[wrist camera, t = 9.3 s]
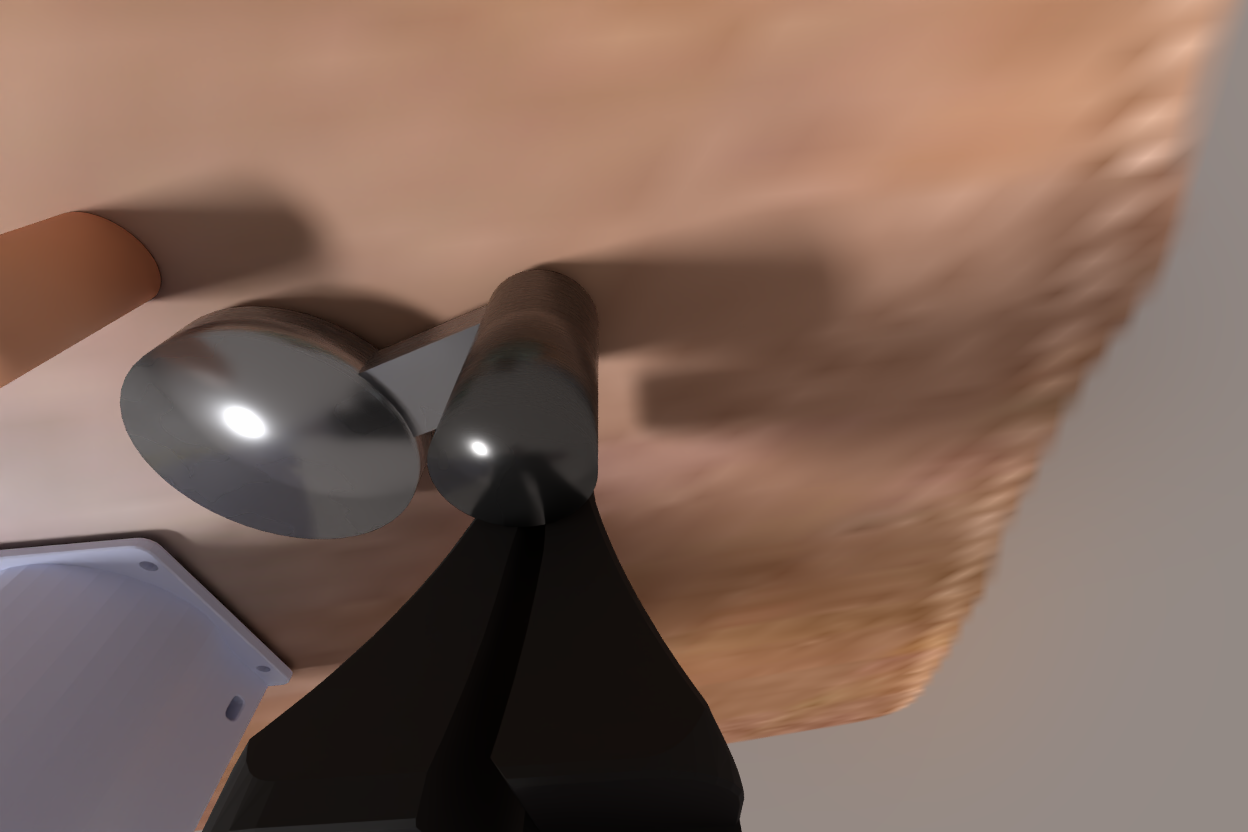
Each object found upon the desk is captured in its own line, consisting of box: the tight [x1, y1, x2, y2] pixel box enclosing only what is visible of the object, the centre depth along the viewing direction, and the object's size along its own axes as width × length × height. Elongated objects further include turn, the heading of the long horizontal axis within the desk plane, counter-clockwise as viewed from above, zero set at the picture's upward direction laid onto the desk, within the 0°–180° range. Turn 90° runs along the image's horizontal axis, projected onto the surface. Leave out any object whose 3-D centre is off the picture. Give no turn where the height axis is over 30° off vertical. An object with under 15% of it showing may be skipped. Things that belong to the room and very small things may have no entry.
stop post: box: [0, 212, 161, 388], centre depth 9 cm, size 2×2×4 cm
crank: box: [120, 270, 598, 539], centre depth 11 cm, size 12×6×5 cm, turn 112°
